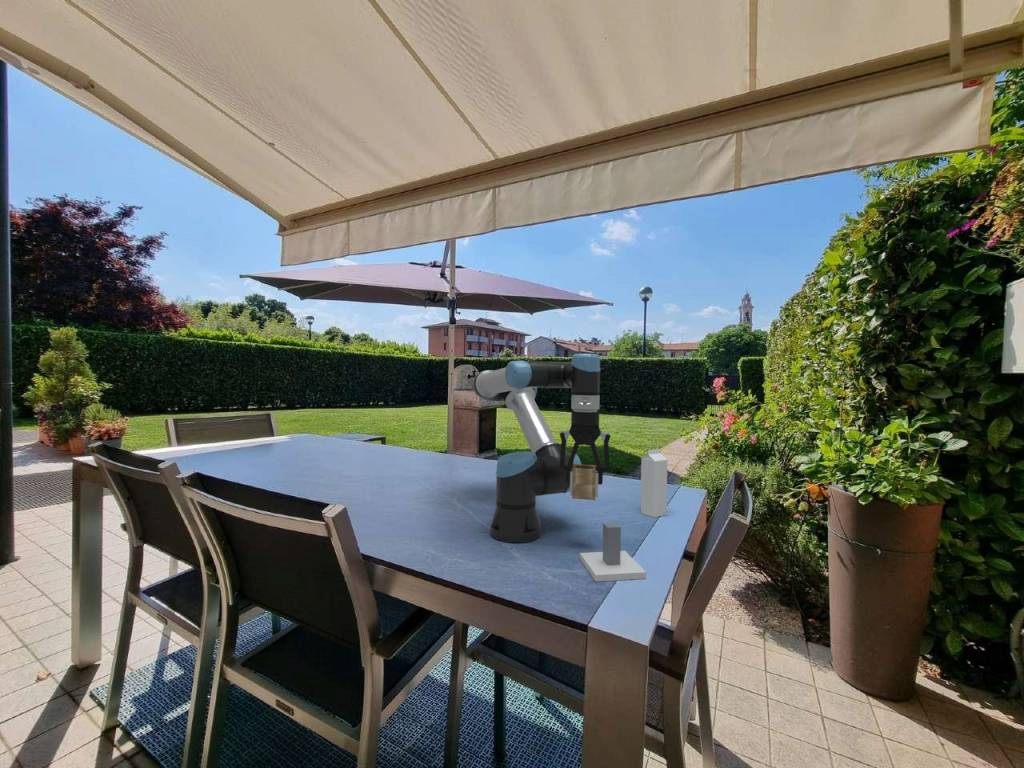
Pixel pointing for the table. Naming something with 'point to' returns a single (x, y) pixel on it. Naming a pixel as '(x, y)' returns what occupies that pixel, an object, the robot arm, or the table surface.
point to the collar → (583, 482)
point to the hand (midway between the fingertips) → (584, 495)
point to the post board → (610, 570)
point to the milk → (654, 484)
